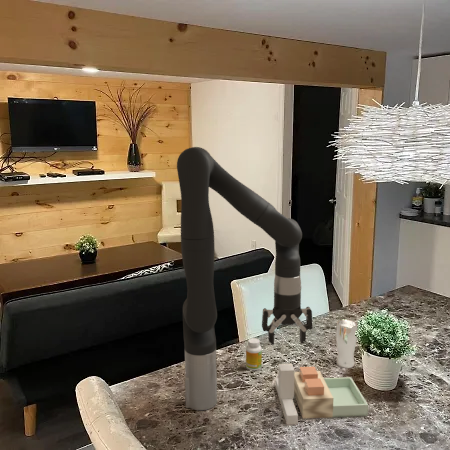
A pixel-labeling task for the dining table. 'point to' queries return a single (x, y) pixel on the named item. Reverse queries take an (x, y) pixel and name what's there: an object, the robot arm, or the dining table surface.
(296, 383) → the tan block
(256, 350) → the supplement bottle
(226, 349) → the dining table surface
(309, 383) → the tile front
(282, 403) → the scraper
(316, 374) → the tile back
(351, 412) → the box
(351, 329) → the beer glass
